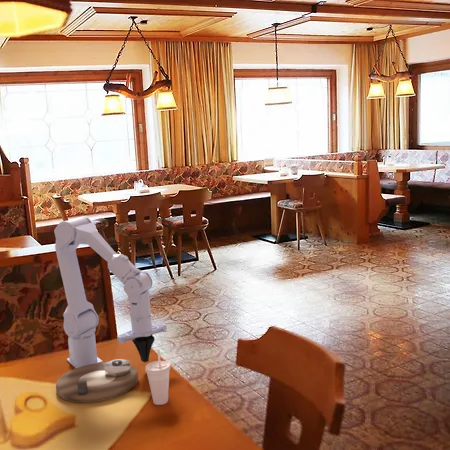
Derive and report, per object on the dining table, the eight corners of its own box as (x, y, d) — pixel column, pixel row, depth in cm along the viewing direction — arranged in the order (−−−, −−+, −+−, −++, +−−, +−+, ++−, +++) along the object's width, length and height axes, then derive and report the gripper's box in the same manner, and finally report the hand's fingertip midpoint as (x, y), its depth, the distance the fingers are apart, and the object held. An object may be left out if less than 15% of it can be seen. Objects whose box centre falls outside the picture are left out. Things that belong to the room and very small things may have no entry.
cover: (101, 371, 166) (100, 361, 165) (124, 365, 169) (123, 355, 169) (110, 379, 160) (109, 369, 159) (134, 372, 164) (133, 362, 163)
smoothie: (169, 407, 146) (164, 354, 144) (144, 406, 148) (139, 353, 145) (176, 396, 152) (172, 344, 150) (152, 395, 154) (148, 344, 151)
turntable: (46, 381, 165) (44, 366, 164) (119, 360, 177) (117, 346, 176) (72, 410, 147) (70, 393, 146) (151, 385, 158) (150, 369, 158)
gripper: (122, 324, 159) (127, 372, 162) (170, 313, 167) (173, 358, 170) (112, 318, 165) (117, 364, 168) (158, 307, 173) (162, 351, 175)
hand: (144, 360), depth 169 cm, fingers closed
